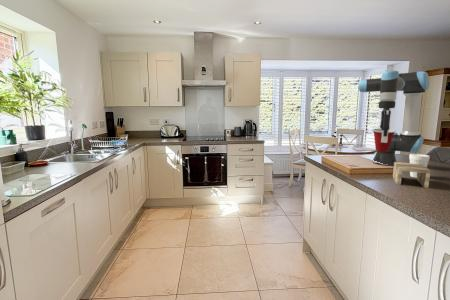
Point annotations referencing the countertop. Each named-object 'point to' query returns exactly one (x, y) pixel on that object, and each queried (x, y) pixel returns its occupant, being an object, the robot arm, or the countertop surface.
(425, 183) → the oak shelf
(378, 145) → the plastic cup
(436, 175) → the countertop surface
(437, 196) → the countertop surface
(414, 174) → the foam cup
